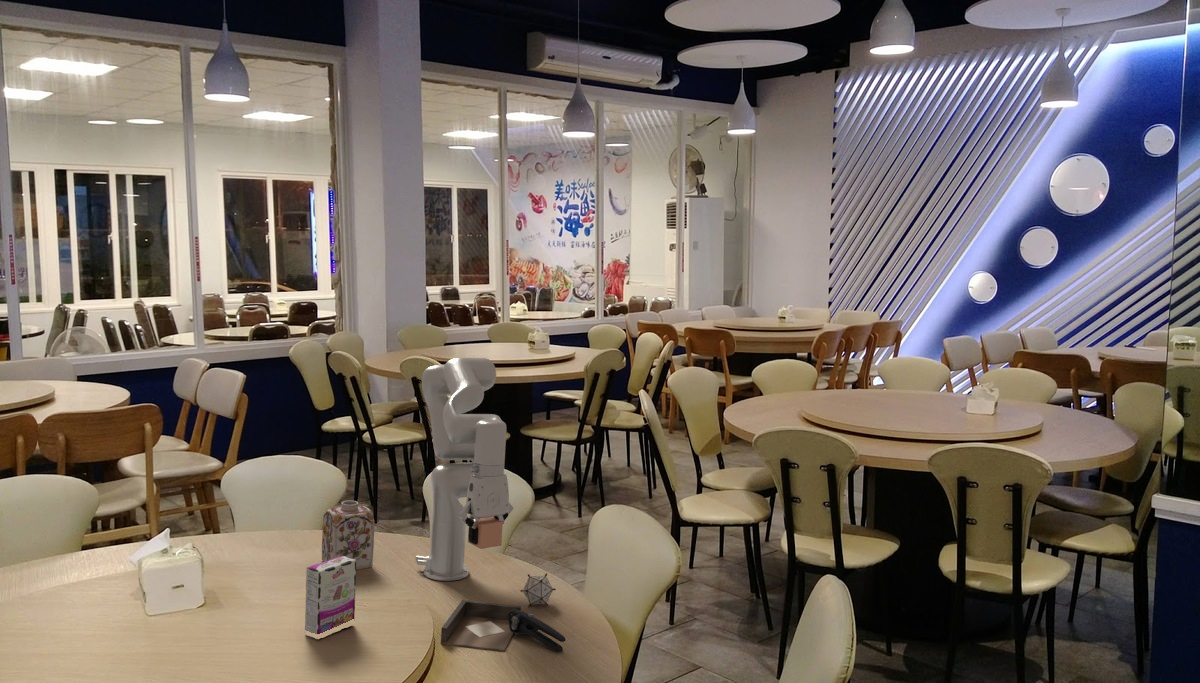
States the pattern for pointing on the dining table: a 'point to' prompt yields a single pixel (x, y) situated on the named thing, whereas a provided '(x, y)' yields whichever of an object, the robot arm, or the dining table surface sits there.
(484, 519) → the cube
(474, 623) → the tray
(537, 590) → the game die
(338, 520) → the decorative jar
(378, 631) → the dining table surface
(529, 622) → the can opener
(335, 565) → the candy bar box
